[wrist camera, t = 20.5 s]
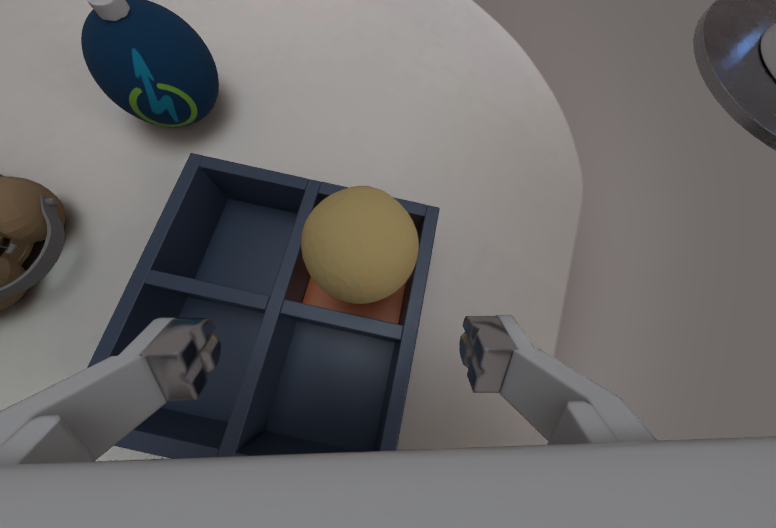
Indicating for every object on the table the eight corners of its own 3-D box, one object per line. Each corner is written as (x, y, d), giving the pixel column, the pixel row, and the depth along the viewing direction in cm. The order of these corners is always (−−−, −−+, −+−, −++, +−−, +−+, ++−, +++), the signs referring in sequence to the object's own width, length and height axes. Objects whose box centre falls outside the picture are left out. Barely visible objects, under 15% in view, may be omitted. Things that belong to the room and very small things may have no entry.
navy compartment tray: (426, 235, 25) (439, 207, 20) (382, 469, 20) (386, 506, 15) (225, 190, 25) (190, 152, 21) (130, 413, 20) (55, 433, 15)
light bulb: (306, 266, 23) (261, 207, 14) (372, 223, 24) (374, 141, 15) (353, 334, 22) (340, 321, 12) (420, 284, 23) (455, 238, 14)
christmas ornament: (127, 143, 26) (-13, 22, 17) (155, 70, 28) (47, -73, 19) (224, 152, 26) (141, 40, 17) (244, 79, 29) (181, -56, 19)
